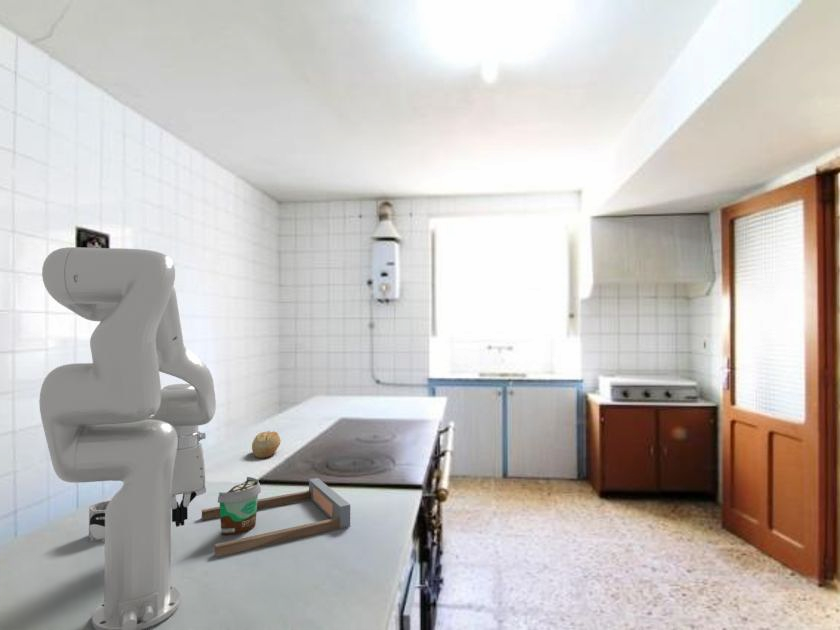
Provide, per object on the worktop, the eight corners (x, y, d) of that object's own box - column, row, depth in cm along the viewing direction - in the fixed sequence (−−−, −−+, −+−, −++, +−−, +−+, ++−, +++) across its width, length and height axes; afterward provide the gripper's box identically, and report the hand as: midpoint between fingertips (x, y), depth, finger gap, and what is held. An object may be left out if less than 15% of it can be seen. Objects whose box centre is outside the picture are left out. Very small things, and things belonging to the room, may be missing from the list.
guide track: (340, 528, 113) (340, 519, 113) (216, 556, 99) (216, 547, 99) (308, 497, 133) (308, 490, 133) (201, 518, 119) (201, 509, 119)
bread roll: (283, 448, 186) (283, 427, 186) (277, 459, 171) (277, 436, 171) (257, 449, 184) (257, 427, 184) (248, 460, 169) (248, 437, 170)
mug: (83, 543, 106) (84, 512, 106) (95, 530, 112) (95, 501, 112) (135, 537, 108) (135, 507, 108) (143, 525, 115) (144, 497, 115)
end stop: (350, 525, 114) (350, 504, 114) (339, 528, 113) (339, 506, 113) (317, 495, 134) (317, 477, 134) (307, 497, 133) (307, 479, 133)
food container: (242, 541, 106) (242, 495, 107) (217, 538, 108) (217, 493, 108) (270, 518, 119) (270, 477, 119) (247, 516, 120) (248, 476, 120)
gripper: (213, 432, 114) (213, 510, 114) (140, 441, 106) (140, 524, 106) (218, 440, 107) (218, 522, 107) (140, 450, 99) (140, 539, 100)
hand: (179, 523), depth 107 cm, fingers closed
